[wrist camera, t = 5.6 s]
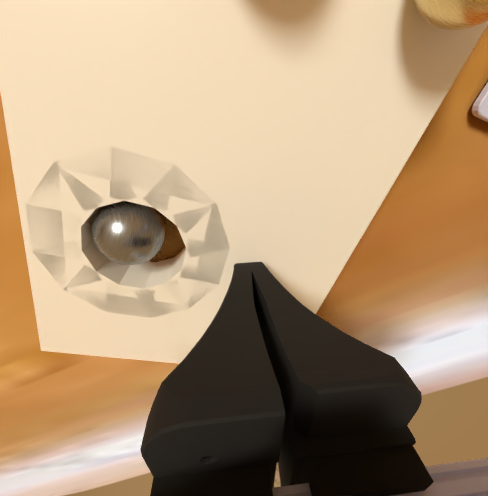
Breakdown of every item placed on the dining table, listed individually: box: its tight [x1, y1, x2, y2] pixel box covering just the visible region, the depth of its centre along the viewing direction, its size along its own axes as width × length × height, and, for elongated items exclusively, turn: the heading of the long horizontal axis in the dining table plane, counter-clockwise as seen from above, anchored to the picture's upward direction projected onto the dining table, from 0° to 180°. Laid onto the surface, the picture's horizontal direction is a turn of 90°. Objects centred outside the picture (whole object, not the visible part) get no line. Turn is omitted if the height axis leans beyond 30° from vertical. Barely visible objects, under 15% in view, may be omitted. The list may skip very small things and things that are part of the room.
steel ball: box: [92, 201, 166, 265], centre depth 11 cm, size 3×3×3 cm
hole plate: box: [0, 0, 488, 364], centre depth 11 cm, size 15×24×2 cm, turn 163°
